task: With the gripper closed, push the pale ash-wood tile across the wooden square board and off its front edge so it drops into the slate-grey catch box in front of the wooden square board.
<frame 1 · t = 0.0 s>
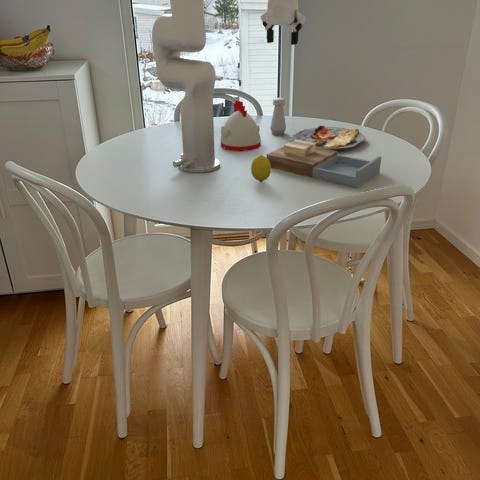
hand: (282, 43, 170), 31 cm above the table, tool pointing down, fingers open, 9 cm apart
food plate: (328, 143, 175), on the table
salt shaker: (277, 134, 184), on the table
catch box: (346, 175, 145), on the table
lemon: (260, 182, 141), on the table
kitchen timer: (240, 145, 172), on the table
tile: (299, 152, 151), point 4 cm above the table, touching wooden square board
wooden square board: (301, 165, 153), on the table
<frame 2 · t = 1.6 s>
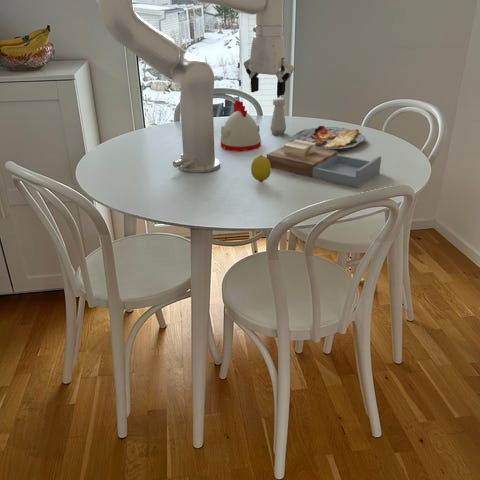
hand: (267, 93, 151), 20 cm above the table, tool pointing down, fingers open, 9 cm apart
nothing on the table moved.
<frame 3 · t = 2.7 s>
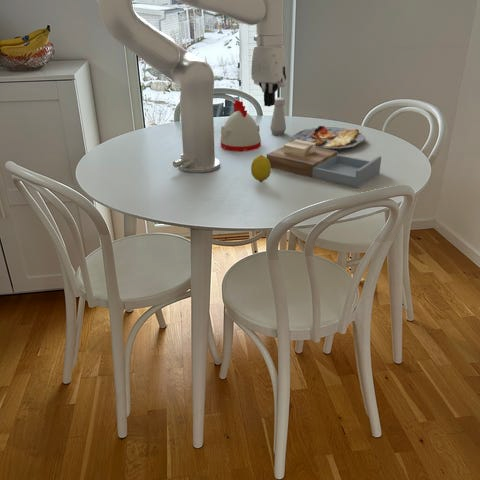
hand: (269, 105, 152), 17 cm above the table, tool pointing down, fingers closed
nothing on the table moved.
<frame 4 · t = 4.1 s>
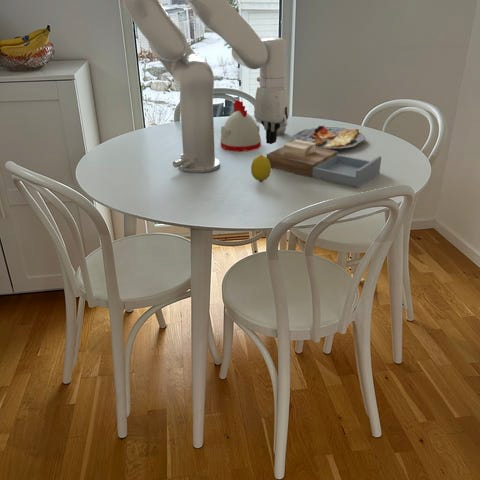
hand: (271, 142, 157), 5 cm above the table, tool pointing down, fingers closed
nothing on the table moved.
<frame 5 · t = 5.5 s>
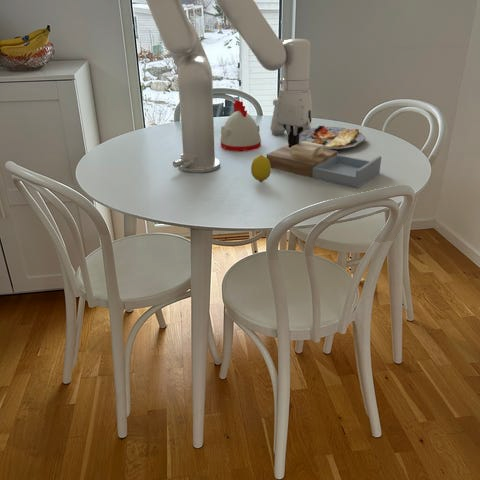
hand: (293, 146, 152), 5 cm above the table, tool pointing down, fingers closed
tile: (307, 153, 150), point 4 cm above the table, touching wooden square board, gripper
everything else where it was.
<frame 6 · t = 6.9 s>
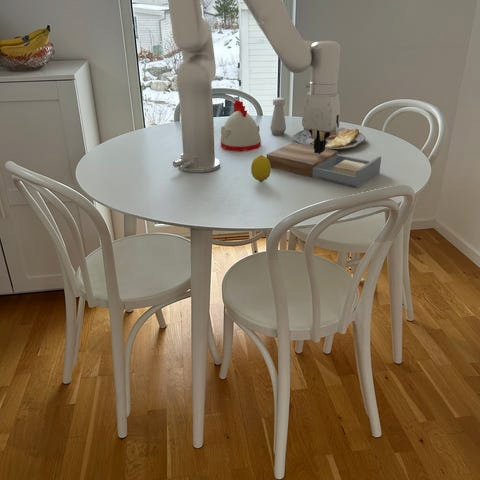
hand: (319, 152, 147), 5 cm above the table, tool pointing down, fingers closed
tile: (350, 165, 143), point 3 cm above the table, tilted 180°, touching catch box
everything else where it was.
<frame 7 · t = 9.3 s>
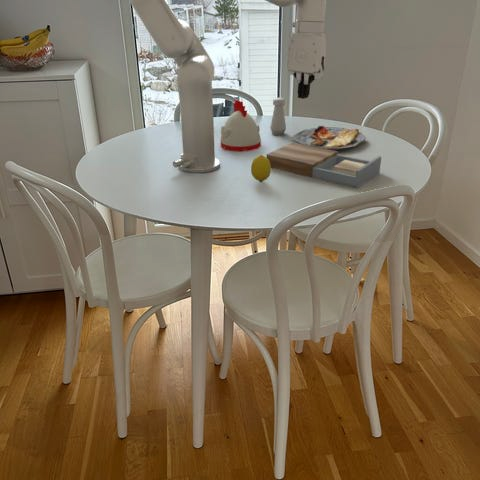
hand: (303, 97, 142), 21 cm above the table, tool pointing down, fingers closed
nothing on the table moved.
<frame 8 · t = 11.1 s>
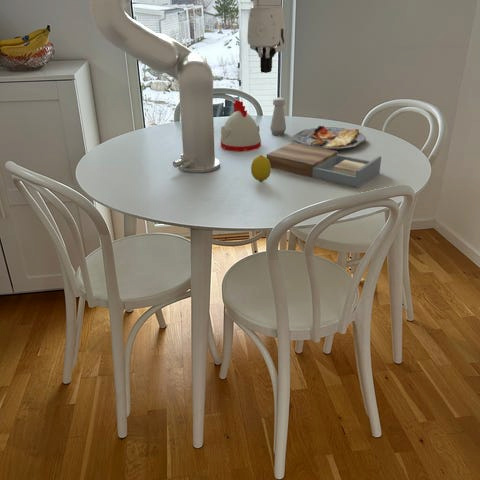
hand: (266, 71, 143), 27 cm above the table, tool pointing down, fingers closed
nothing on the table moved.
at the end: tile inside the target area on the catch box (1.1 cm from its centre), point 3.3 cm above the catch box's base; tile touching catch box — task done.
